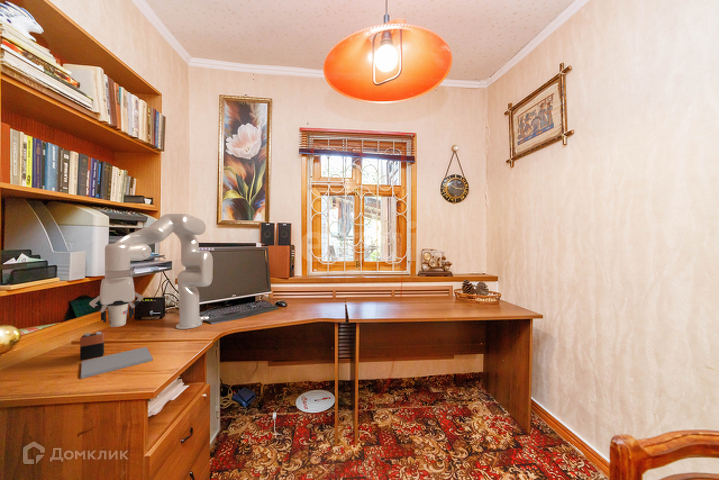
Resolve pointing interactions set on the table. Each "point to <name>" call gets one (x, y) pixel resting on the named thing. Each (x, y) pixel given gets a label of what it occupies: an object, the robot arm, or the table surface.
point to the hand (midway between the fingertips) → (117, 319)
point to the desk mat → (115, 362)
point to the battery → (91, 345)
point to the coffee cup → (117, 313)
